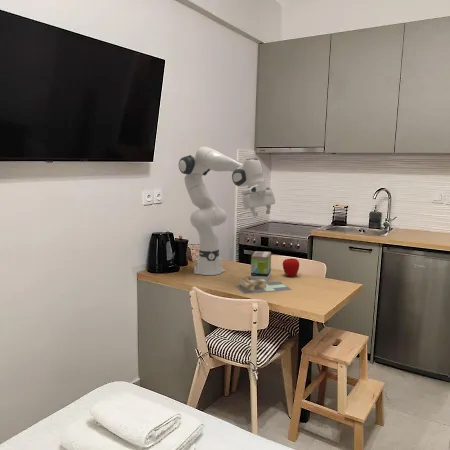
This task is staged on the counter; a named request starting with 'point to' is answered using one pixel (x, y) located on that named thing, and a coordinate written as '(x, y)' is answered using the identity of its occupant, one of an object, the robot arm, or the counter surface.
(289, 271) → the apple
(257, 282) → the tee
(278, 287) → the mat
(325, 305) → the counter surface
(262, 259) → the tea box
